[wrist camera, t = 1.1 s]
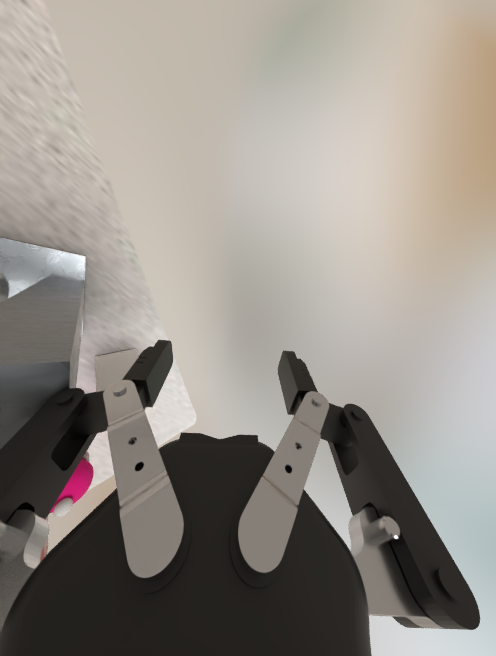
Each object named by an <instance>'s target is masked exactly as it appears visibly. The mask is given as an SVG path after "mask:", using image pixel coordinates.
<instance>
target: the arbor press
mask: <svg viewBox="0 0 496 656" xmlns="http://www.w3.org/2000/svg"><path fill="white" fill-rule="evenodd" d="M85 263H86V256H82V255H78V254H73V253H69V252H64V251H60V250H55V249H51V248H46V247H42V246H38V245H33V244H29V243H24V242H20V241H15V240H11V239H6V238H2V237H0V449H1V448H2V447H3V446H4V445H5V444H6V443H7V442H8V441H9V440H10V439H11V438H12V437H13V436H14V435H15V434H16V433H17V432H18V431H19V430H20V429H21V428H22V427H23V426H24V425H25V424H26V422H27V421H28V420H29V419H30V418H31V417H32V416H33V415H34V414H35V413H36V412H37V411H38V410H39V409H40V408H41V407H42V406H43V405H44V404H45V403H46V402H47V401H48V400H49V399H50V398H51V397H52V396H54V395H55V394H57V393H59V392H61V391H63V390H66V389H70V388H76V381H77V371H78V361H79V352H80V342H81V336H82V335H83V314H84V288H85ZM46 521H47V522H48V516H47V518H46ZM47 549H48V537H47V540H46V542H45V544H44V546H43V549H42V552H41V556H40V562H41V561H42V560H43V558H44V557H45V556H46V555H47Z"/></svg>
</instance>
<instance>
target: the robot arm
mask: <svg viewBox="0 0 496 656" xmlns="http://www.w3.org/2000/svg"><path fill="white" fill-rule="evenodd" d="M172 363H173V353H172V344H171V341H167V340H158V341H157V343H156V344H155V346H154V347H148V348H147V349H145V350H144V351H143V352H142V353H141V354H140V356H139V358H137V360H136V361H135V363H134V364H133V365H132V367H131V368H130V369H129V371H128V372H127V373H126V375H125V376H124V378H123V379H122V380H120V381H117V382H115V383H113V384H111V385H109V386H108V387H107V388H106V389H105V390H104V391H99V392H94V393H88V394H85V393H84V391H83V390H82V389H80V388H70V389H66V390H63V391H61V392H59V393H57V394H55V395H54V396H52V397H51V398H50V399H49V400H48V401H47V402H46V403H45V404H44V405H43V406H42V407H41V408H40V409H39V410H38V411H37V412H36V413H35V414H34V415H33V416H32V417H31V418H30V419H29V420H28V421H27V422H26V424H25V425H24V426H23V427H22V428H21V429H20V430H19V431H18V432H17V433H16V434H15V435H14V436H13V437H12V438H11V439H10V440H9V441H8V442H7V443H6V444H5V445H4V446H3V447H2V448H1V449H0V656H371V646H370V635H369V615H374V616H375V615H376V616H392V617H393V618H394V619H395V620H396V621H397V622H399V623H400V624H401V625H403V626H405V627H409V628H439V629H468V630H473V629H476V628H477V627H478V626H479V623H480V615H479V609H478V605H477V603H476V600H475V598H474V596H473V593H472V592H471V590H470V588H469V586H468V584H467V583H466V581H465V579H464V578H463V576H462V574H461V572H460V571H459V569H458V567H457V566H456V564H455V562H454V560H453V559H452V557H451V555H450V554H449V552H448V550H447V548H446V547H445V545H444V543H443V542H442V540H441V538H440V537H439V535H438V533H437V531H436V530H435V528H434V526H433V525H432V523H431V521H430V520H429V518H428V516H427V514H426V513H425V511H424V509H423V508H422V506H421V504H420V503H419V501H418V499H417V497H416V496H415V494H414V492H413V491H412V489H411V487H410V486H409V484H408V482H407V481H406V479H405V477H404V476H403V474H402V472H401V470H400V468H399V467H398V465H397V463H396V462H395V460H394V458H393V457H392V455H391V453H390V451H389V450H388V448H387V446H386V445H385V443H384V441H383V440H382V438H381V436H380V435H379V433H378V431H377V429H376V428H375V426H374V424H373V423H372V421H371V419H370V418H369V416H368V414H367V413H366V412H365V411H364V410H363V409H362V408H360V407H359V406H357V405H354V404H347V405H345V406H344V408H341V407H338V406H335V405H333V404H330V403H328V401H327V399H326V398H325V397H324V396H323V395H322V394H320V393H318V391H317V389H316V387H315V385H314V383H313V380H312V378H311V376H310V374H309V371H308V369H307V367H306V364H305V363H304V362H303V361H302V360H301V359H297V357H296V355H295V353H294V352H293V351H283V353H282V356H281V360H280V362H279V366H278V375H279V380H280V384H281V388H282V392H283V396H284V400H285V404H286V409H287V413H288V414H290V415H291V414H292V415H294V417H293V419H292V421H291V423H290V425H289V427H288V428H287V430H286V432H285V434H284V436H283V438H282V440H281V442H280V444H279V446H278V447H277V449H276V451H275V452H274V451H273V450H272V449H271V448H270V447H268V446H267V445H265V444H263V443H261V442H258V436H257V435H236V436H233V437H228V438H225V439H216V438H213V437H210V436H207V435H204V434H200V433H181V435H180V439H178V440H175V441H172V442H170V443H168V444H166V445H164V446H163V447H161V448H160V449H158V447H157V444H156V441H155V438H154V435H153V433H152V430H151V427H150V424H149V421H148V419H147V416H146V413H145V411H144V410H145V408H146V407H153V405H154V403H155V401H156V399H157V397H158V395H159V392H160V390H161V388H162V386H163V384H164V382H165V380H166V377H167V375H168V373H169V371H170V369H171V367H172ZM103 431H107V433H108V439H109V445H110V450H111V456H112V462H113V468H114V474H115V479H116V485H117V488H116V489H115V491H113V492H112V493H111V494H110V495H109V496H108V497H107V498H106V499H105V500H104V501H103V502H102V503H101V504H100V505H99V506H97V507H96V509H94V510H93V511H92V512H91V513H90V514H89V515H88V516H87V517H86V518H85V519H84V520H83V521H82V522H81V523H79V524H78V525H77V526H76V527H75V528H74V529H73V530H72V531H71V532H70V533H69V534H68V535H67V536H66V537H65V538H63V540H61V541H60V542H59V543H58V544H57V545H56V546H55V547H54V548H53V549H52V550H51V551H50V552H49V553H48V554H47V555H46V556H45V557H44V558H43V560H42V561H41V562H40V556H41V552H42V549H43V546H44V544H45V542H46V540H47V537H48V534H49V524H48V522H47V521H46V518H47V516H48V515H49V513H50V511H51V510H52V508H53V506H54V505H55V503H56V501H57V500H58V498H59V496H60V495H61V493H62V491H63V490H64V488H65V486H66V485H67V483H68V481H69V480H70V478H71V476H72V475H73V473H74V471H75V469H76V468H77V466H78V464H79V463H80V461H81V459H82V458H83V456H84V454H85V453H86V451H87V449H88V448H89V446H90V444H91V443H92V441H93V439H94V438H95V436H96V434H97V433H100V432H103ZM320 438H321V439H324V440H326V441H328V443H329V446H330V449H331V452H332V455H333V458H334V461H335V464H336V467H337V470H338V473H339V476H340V479H341V482H342V485H343V488H344V491H345V494H346V497H347V500H348V503H349V506H350V508H351V512H352V514H353V517H352V518H351V519H350V521H349V534H350V538H351V552H350V550H349V548H348V547H347V545H346V544H345V543H344V541H343V540H342V538H341V537H340V536H339V535H338V533H337V532H336V530H335V529H334V528H333V527H332V525H331V524H330V523H329V521H328V520H327V519H326V518H325V516H324V515H323V513H322V512H321V511H320V510H319V508H318V507H317V506H316V504H315V503H314V502H313V500H312V499H311V498H310V497H309V495H308V494H307V493H306V491H305V490H304V486H305V483H306V480H307V477H308V474H309V471H310V468H311V465H312V462H313V459H314V456H315V453H316V450H317V447H318V444H319V441H320Z"/></svg>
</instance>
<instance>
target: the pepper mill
mask: <svg viewBox="0 0 496 656" xmlns="http://www.w3.org/2000/svg"><path fill="white" fill-rule="evenodd" d="M92 479H93V467H92V465H91V464H90V463H89V453H88V452H87V451H86V453H85V454H84V456H83V458H82V459H81V461H80V463H79V464H78V466H77V468H76V469H75V471H74V473H73V475H72V476H71V478H70V480H69V481H68V483H67V485H66V486H65V488H64V490H63V491H62V493H61V495H60V496H59V498H58V500H57V501H56V503H55V505H54V506H53V508H52V510H51V511H50V513H52V512H53V513H54V515H55V516H56V517H61V516H64V515H65V514H66V513H68V512H69V511H70V509H71V507H72V505H73V504H74V503H75V502H76V501H77V500H79V499H80V498H81V497H82V496H83V495H84V494H85V492H86V491H87V490H88V488H89V486H90V484H91V482H92Z"/></svg>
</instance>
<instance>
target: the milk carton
mask: <svg viewBox="0 0 496 656" xmlns="http://www.w3.org/2000/svg"><path fill="white" fill-rule="evenodd" d="M137 358H139V356H138V354H137V352H136V350H135V349H131V350H126V351H120V352H115V353H110V354H105V355H100V356H95V370H96V390H97V392H99V391H104V390H105V389H106V388H107V387H108V386H109V385H111V384H113V383H115V382H117V381H120V380H122V379H123V378H124V376H125V375H126V373H127V372H128V371H129V369H130V368H131V367H132V365H133V364H134V363H135V361H136V360H137ZM154 407H155V405H153V407H146V408H145V410H144V411H145V413H146V416H147V419H148V421H150V420H151V419H152V418H153V417H154V415H155V409H154ZM105 433H106V435H108V433H107V431H105Z"/></svg>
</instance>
